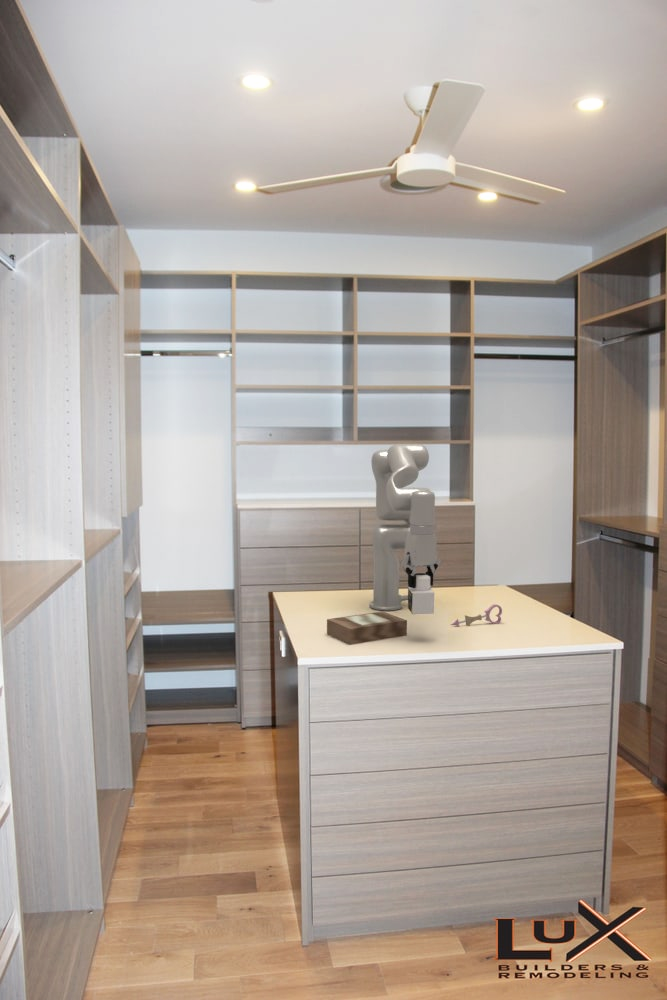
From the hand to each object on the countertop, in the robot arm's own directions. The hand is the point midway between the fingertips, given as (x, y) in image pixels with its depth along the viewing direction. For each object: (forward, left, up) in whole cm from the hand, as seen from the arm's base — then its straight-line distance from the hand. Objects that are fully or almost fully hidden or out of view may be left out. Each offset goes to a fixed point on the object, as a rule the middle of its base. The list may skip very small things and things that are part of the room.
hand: (420, 585), depth 235 cm
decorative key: (-29, -6, -18) cm, 34 cm away
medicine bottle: (0, 0, -8) cm, 8 cm away
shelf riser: (+11, -13, -18) cm, 25 cm away
